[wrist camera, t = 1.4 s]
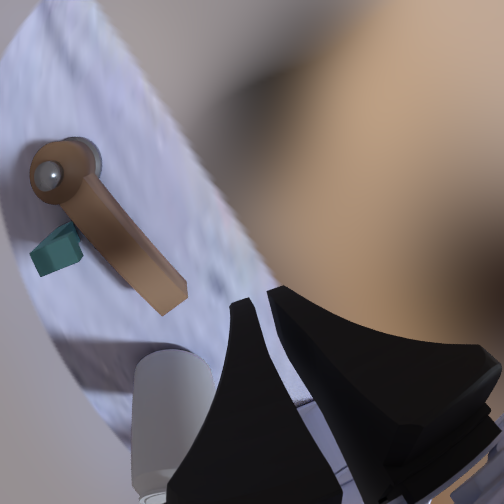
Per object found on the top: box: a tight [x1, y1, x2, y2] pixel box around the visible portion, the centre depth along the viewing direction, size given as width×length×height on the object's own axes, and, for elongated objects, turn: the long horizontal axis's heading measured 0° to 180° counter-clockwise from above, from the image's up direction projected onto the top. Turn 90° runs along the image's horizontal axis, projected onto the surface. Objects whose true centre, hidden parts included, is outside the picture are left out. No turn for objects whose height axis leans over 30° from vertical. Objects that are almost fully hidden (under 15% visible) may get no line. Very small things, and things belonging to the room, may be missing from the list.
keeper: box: [30, 221, 83, 277], centre depth 14 cm, size 1×3×4 cm, turn 104°
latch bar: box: [30, 140, 188, 316], centre depth 14 cm, size 12×3×3 cm, turn 34°
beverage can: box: [131, 349, 216, 504], centre depth 16 cm, size 6×6×12 cm
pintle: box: [34, 137, 102, 192], centre depth 12 cm, size 4×4×4 cm
